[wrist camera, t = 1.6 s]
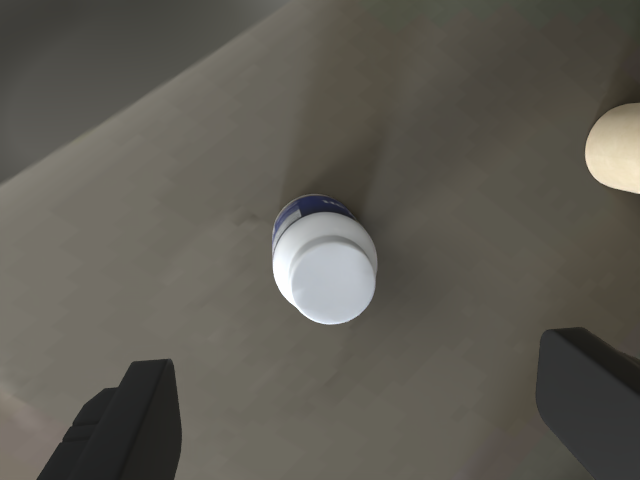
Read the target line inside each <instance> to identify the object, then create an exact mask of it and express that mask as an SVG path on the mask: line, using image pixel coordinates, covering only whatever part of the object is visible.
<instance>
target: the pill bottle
mask: <svg viewBox="0 0 640 480" xmlns="http://www.w3.org/2000/svg"><path fill="white" fill-rule="evenodd" d="M272 251H273V272H274V276H275V280H276V283H277V285H278V287H279V289H280V291H281V293H282V294H283V295H284V296H285V298H286V299H287V300H288V301H289V302H290V303H292V304H293V305H294V306H296V307H297V308H298V309H299V311H300V312H301V313H302V314H304V315H305V316H306V317H308V318H309V319H311V320H313V321H316V322H319V323H323V324H339V323H343V322H346V321H349V320H351V319H353V318H355V317H356V316H358V315H359V314H360V313H361V312H362V311H363V310H365V308H366V307H367V306H368V304H369V303H370V301H371V299H372V297H373V294H374V291H375V286H376V273H377V253H376V249H375V246H374V244H373V241H372V239H371V237H370V236H369V234H368V233H367V231H366V230H365V229H364V227H363V226H362V225H361V224H360V223H359V221H358V220H357V219H356V218H355V217H354V215H353V214H352V213H351V212H350V211H349V210H348V209H347V208H346V207H345V206H344V205H343V204H342V203H340V202H339V201H338V200H336V199H334V198H332V197H329V196H326V195H322V194H308V195H304V196H301V197H298V198H296V199H294V200H293V201H291V202H290V203H288V204H287V205H286V206H285V207H284V208H283V209H282V211H281V212H280V213H279V215H278V217H277V219H276V221H275V224H274V228H273V236H272Z"/></svg>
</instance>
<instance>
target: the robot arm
mask: <svg viewBox="0 0 640 480" xmlns="http://www.w3.org/2000/svg"><path fill="white" fill-rule="evenodd" d="M536 403H537V407H538V411H539V413H540V416H541V418H542V419H543V421H544V422H545V424H546V425H547V426H548V427H549V428H550V429H551V430H552V432H553V433H554V434H555V435H556V436H557V437H558V438H559V439H560V441H561V442H562V443H563V444H564V445H565V446H566V447H567V448H568V449H569V451H570V452H571V453H572V454H573V455H574V456H575V457H576V458H577V460H578V461H579V462H580V463H581V464H582V465H583V466H584V467H585V469H586V470H587V471H588V472H589V473H590V474H591V475H592V476H593V477H594V479H595V480H640V360H639V359H637V358H635V357H632V356H630V355H628V354H625V353H623V352H620V351H618V350H616V349H615V348H613V347H612V346H610V345H609V344H607V343H606V342H604V341H603V340H601V339H600V338H598V337H597V336H595V335H594V334H592V333H591V332H590V331H588V330H587V329H585V328H582V327H576V328H563V329H550V330H546V331H545V332H544V333H543V334H542V337H541V341H540V350H539V361H538V372H537V383H536ZM181 443H182V429H181V419H180V411H179V403H178V395H177V386H176V378H175V371H174V365H173V362H172V360H171V359H160V360H147V361H135V362H132V363H131V365H130V367H129V368H128V370H127V372H126V374H125V376H124V377H123V379H122V381H121V383H120V385H119V386H118V387H117V388H105V389H104V390H102V391H101V392H100V393H98V394H97V395H96V396H95V397H93V398H92V399H91V400H90V401H88V402H87V403H86V404H84V406H83V407H82V409H81V410H80V412H79V414H78V415H77V417H76V418H75V420H74V421H73V426H72V427H70V428H69V429H68V431H67V432H66V434H65V436H64V437H63V442H62V443H59V445H58V447H57V448H56V450H55V451H54V453H53V454H52V456H51V458H50V459H49V461H48V462H47V464H46V465H45V467H44V469H43V470H42V472H41V473H40V475H39V476H38V478H37V480H174V477H175V473H176V470H177V466H178V462H179V458H180V453H181Z"/></svg>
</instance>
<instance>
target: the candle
mask: <svg viewBox="0 0 640 480" xmlns="http://www.w3.org/2000/svg"><path fill="white" fill-rule="evenodd" d="M585 157H586V163H587V166H588V169H589V171H590V172H591V174H592V175H593V177H594V178H595V179H596V180H598V181H599V182H601V183H602V184H604V185H606V186H609V187H612V188H616V189H620V190H624V191H629V192H634V193H638V194H640V103H630V104H625V105H621V106H618V107H615V108H613V109H611V110H609V111H608V112H606V113H605V114H604V115H603V116H602V117H601V118H600V119H599V120H598V121H597V122H596V123H595V125H594V126H593V128H592V130H591V131H590V134H589V136H588V139H587V142H586V148H585Z"/></svg>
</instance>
